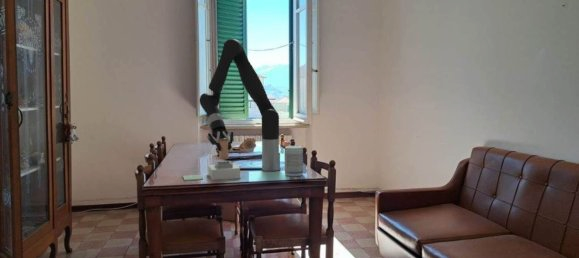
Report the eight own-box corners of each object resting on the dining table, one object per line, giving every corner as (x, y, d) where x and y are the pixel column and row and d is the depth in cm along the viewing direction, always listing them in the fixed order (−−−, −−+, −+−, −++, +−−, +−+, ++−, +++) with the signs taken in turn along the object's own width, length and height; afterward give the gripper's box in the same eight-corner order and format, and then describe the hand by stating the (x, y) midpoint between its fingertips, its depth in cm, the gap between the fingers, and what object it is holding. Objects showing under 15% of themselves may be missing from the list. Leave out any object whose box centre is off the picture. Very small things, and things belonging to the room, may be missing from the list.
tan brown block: (227, 157, 218) (227, 137, 217) (229, 158, 213) (228, 138, 212) (218, 157, 216) (218, 138, 215) (220, 159, 212) (219, 139, 211)
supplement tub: (306, 175, 218) (306, 147, 217) (291, 177, 213) (291, 148, 211) (296, 172, 226) (296, 145, 225) (281, 174, 221) (281, 146, 219)
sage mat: (201, 175, 216) (201, 174, 216) (203, 179, 208) (203, 178, 208) (182, 177, 214) (182, 175, 214) (184, 180, 205) (184, 179, 205)
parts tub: (238, 172, 225) (237, 159, 224) (243, 177, 212) (243, 164, 212) (208, 174, 220) (208, 161, 219) (211, 179, 207) (211, 165, 207)
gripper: (204, 119, 216) (212, 146, 207) (231, 118, 223) (240, 144, 213) (202, 129, 221) (209, 155, 212) (228, 127, 228) (236, 153, 219)
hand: (225, 149), depth 213 cm, fingers closed on tan brown block, 4 cm apart
